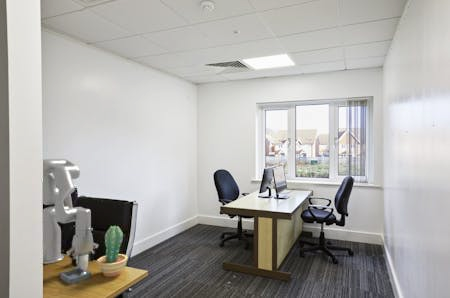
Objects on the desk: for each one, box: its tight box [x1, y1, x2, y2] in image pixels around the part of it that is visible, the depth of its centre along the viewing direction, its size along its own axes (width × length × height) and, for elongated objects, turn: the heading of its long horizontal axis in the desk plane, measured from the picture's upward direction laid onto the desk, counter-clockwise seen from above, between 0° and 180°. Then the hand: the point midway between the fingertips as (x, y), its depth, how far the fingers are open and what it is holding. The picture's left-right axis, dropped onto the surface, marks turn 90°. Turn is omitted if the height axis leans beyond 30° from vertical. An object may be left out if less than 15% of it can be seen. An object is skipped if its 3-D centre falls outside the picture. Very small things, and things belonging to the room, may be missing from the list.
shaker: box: [76, 252, 89, 271], centre depth 159 cm, size 5×5×10 cm
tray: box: [59, 267, 92, 286], centre depth 147 cm, size 12×10×3 cm
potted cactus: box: [96, 225, 128, 277], centre depth 153 cm, size 15×15×25 cm
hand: (82, 263), depth 159 cm, fingers open, 9 cm apart
